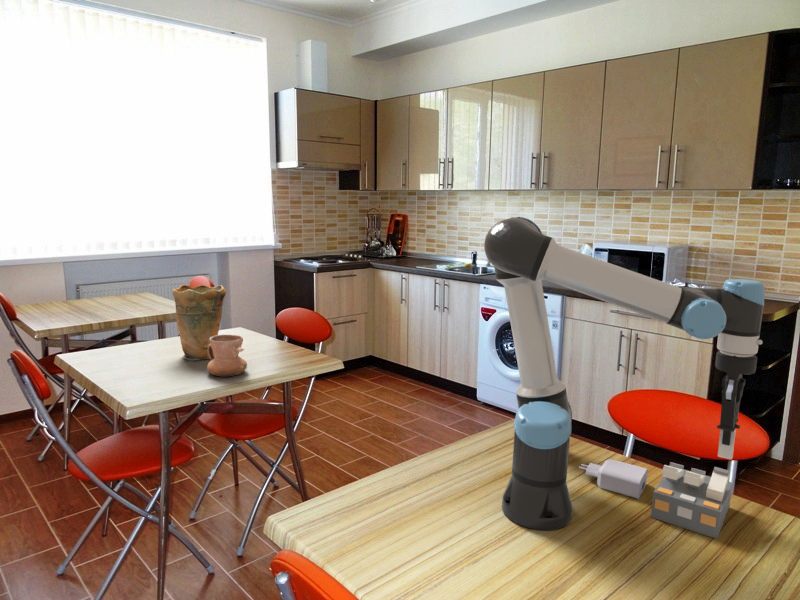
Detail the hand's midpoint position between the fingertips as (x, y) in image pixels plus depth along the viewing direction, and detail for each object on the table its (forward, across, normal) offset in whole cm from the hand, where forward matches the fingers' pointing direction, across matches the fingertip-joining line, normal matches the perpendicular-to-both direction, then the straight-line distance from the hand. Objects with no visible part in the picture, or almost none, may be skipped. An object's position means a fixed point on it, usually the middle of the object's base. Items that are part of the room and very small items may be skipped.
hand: (725, 456), depth 127 cm
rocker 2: (+5, -4, +5) cm, 8 cm away
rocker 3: (+5, -4, 0) cm, 6 cm away
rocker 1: (+5, -4, +9) cm, 11 cm away
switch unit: (+13, -4, +5) cm, 15 cm away
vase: (+11, -1, +193) cm, 193 cm away
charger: (+14, -2, +24) cm, 27 cm away
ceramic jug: (+11, -9, +166) cm, 167 cm away
